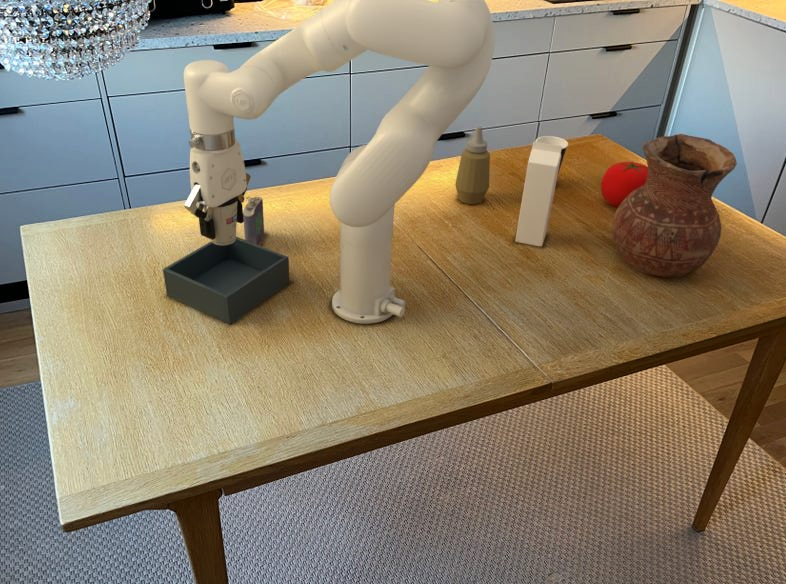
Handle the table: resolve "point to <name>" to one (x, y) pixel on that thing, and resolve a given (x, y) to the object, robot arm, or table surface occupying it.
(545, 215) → the milk
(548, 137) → the dixie cup
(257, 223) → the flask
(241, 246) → the tub
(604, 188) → the tomato
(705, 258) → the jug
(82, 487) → the table surface
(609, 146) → the table surface
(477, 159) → the squeeze bottle
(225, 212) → the coffee cup
